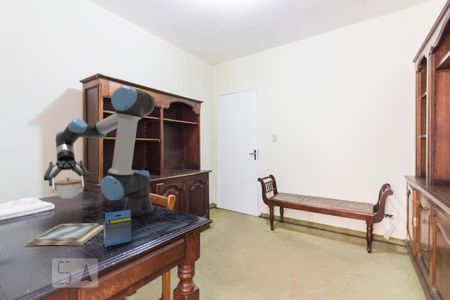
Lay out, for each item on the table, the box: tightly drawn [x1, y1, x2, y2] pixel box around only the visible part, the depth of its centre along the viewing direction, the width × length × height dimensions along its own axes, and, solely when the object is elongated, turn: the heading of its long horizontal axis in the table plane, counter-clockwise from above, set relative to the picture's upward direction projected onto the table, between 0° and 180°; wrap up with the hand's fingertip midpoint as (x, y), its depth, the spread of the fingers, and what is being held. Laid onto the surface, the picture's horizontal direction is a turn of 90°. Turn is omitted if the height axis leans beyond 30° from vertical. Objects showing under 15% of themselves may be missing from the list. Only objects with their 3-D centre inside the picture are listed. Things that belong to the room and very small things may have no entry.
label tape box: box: [103, 210, 132, 248], centre depth 86 cm, size 9×4×12 cm, turn 126°
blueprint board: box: [25, 222, 104, 247], centre depth 92 cm, size 20×17×2 cm
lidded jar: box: [54, 177, 82, 200], centre depth 109 cm, size 11×11×9 cm
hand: (68, 189), depth 107 cm, fingers closed on lidded jar, 11 cm apart
